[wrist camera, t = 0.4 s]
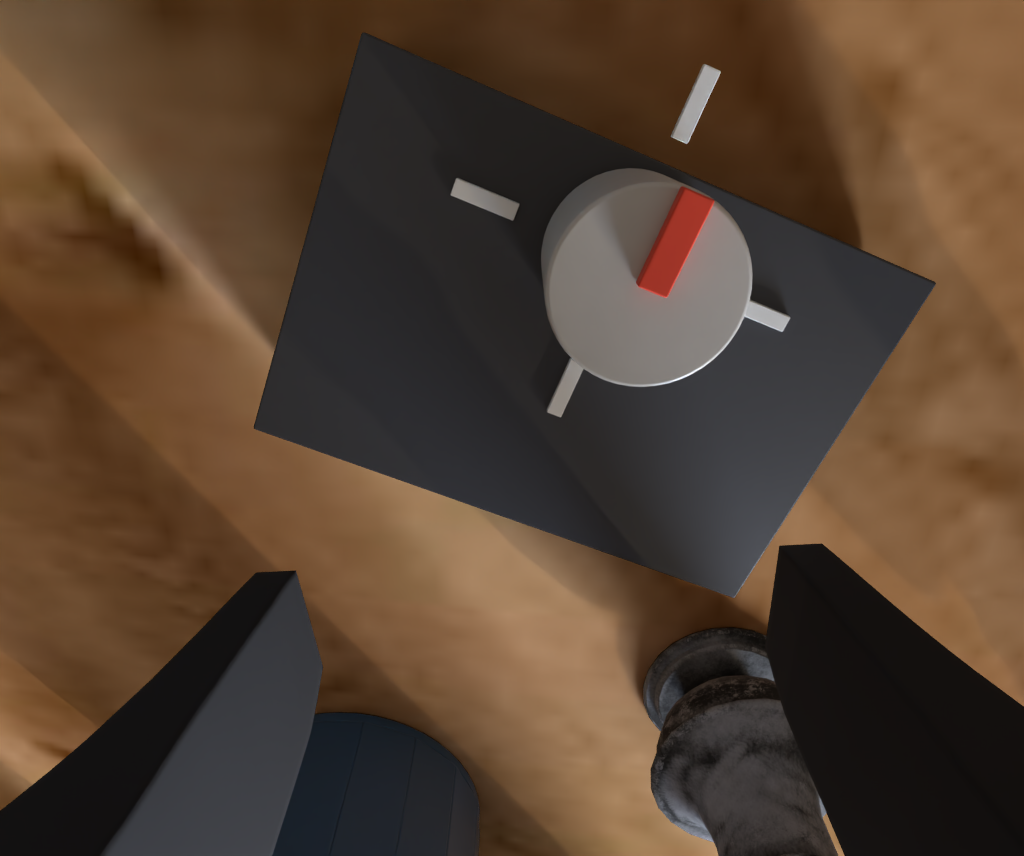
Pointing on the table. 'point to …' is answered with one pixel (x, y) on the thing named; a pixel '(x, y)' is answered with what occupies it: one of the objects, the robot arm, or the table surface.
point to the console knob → (643, 277)
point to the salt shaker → (730, 749)
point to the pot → (378, 794)
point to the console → (534, 347)
